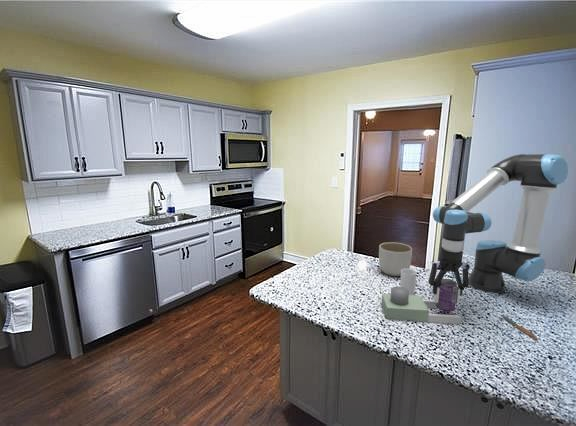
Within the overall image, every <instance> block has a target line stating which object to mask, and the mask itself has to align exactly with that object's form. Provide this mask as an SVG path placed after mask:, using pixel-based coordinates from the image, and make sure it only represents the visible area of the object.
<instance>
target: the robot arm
mask: <svg viewBox="0 0 576 426" xmlns="http://www.w3.org/2000/svg"><path fill="white" fill-rule="evenodd" d="M568 175H569V165H568V162H567V160H566V158H565V157H563V156H562V155H558V154H549V153H548V154H545V153H544V154H541V153H539V154H529V153H528V154H526V153H525V154H523V153H522V154H520V153H519V154H515V155H511V156H509V157H507V158H505V159H502V160H500V161H499V162H497V163H496V164H494V165H493V166H491V167H490V168H489V169H488V170H487V172H486V173H485V175H484V176H483V177H481V178H480V179H479V180H478V181H477V180H476V182H475V183H474V184H473V185H471V186H469V187H468V188H467V189H466V190H465V191H464V192H463V193H461V194H459V196H458V197H456V198H454V200H453V201H451V202H450V203H449V204H447V205H446V206H444V205H438V206H436V207H435V208H434V210H433V212H432V218H433V221H435V222H437V223H439V224H442V225H443V229H442V240H441V250H440V258H439V260H438V261H433V260H432V261H431V270H430V274H429V278H428V284H429V285H430V286H431V287H432V291H431V292H432V294H433V300H435V302H436V303H438V300H439V291H440V288H439V287H438V286H439V284H440V282H441V280H442V279H444V277H445V275H446V274H447V273H449V272H452V273H453V274H454V278H455V282H456V283H457V287H458V291H457V298H456V305H459V304H460V297H462V296H463V291H464V290H465V288H466V289H468V288H469V287H472V288H474V289H477V290H480V291H483V292H487V293H494V294H495V293H502V292H504V291H505V288H506V287H505V286H506V284H505V280H504V276H503V273H504V274H505V275H509V276H511V277H513V278H515V279H517V280H522V281H525V282H531V281H532V282H533V281H534V280H536V279H537V278H539V277H540V276H541V275H542V273H543V272H544V270H545V268H546V260H545V259H544V258H543V257H541V254H542V253H541V250H540V249H539V248H538V246H539V245H538V244H539V241H540V237H541V233H542V228H543V224H544V220H545V217H546V211H547V207H548V203H549V199H550V196H551V192H553V191H554V190H556V189H557V186H558V185H561V184H563V183H564V182H565V180H566V179H567V178H568ZM513 181H514V182H516V181H517V182H520V187H521V188H522V189H523V191H522V197H521V201H520V205H519V209H518V215H517V220H516V225H515V229H514V233H513V238H512V242H511V243H509V244H507V242H505V241H501V240H493V239H492V240H491V239H489V240H487V239H486V240H480V241H478V242H477V244H476V248H475V255H474V265H473V269H472V271H471V273H470V274H469V270H470V267H471V265H470V264H469V263H468V262H463V255H464V247H465V239H466V234H467V235H468V234H474V233H482V232H486V231H488V230H489V229H491V226H492V219H491V217H490V215H488V214H487V213H485V212H469V211H471V210H472V209H474V207H476V206H477V205H478V204H480V203H481V202H482V201H483V200H485V199H486V198H487V197H488V196H490V195H491V194H492V193H494V192H495V191H496V190H497V189H498V188H499V187H501V186H505V185H507V184H509V183H510V182H513ZM439 266H440V268H439ZM438 268H439V272H438V273H437V271H438ZM460 268H462V278H461V275H460V271H459V269H460Z"/></svg>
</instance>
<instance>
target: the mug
mask: <svg viewBox="0 0 576 426" xmlns="http://www.w3.org/2000/svg"><path fill="white" fill-rule="evenodd" d="M417 273H418V272H417V271H416V270H414V269H412V268H410V269H402V270H401V276H400V286H399V287H404V288H406V289H408V290H409V295H415V291H416V283H417Z"/></svg>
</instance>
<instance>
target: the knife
mask: <svg viewBox="0 0 576 426" xmlns="http://www.w3.org/2000/svg"><path fill="white" fill-rule="evenodd" d="M501 315H502V316H501V317H502V318H503V319H504V320H505V321H507V322H508V323H510V324H511V325H512V327H513V328H515V329H517V330H518V331H520V332H521V333H523V334H525V335H526V336H528V337H529V338H531V339H533V341H534V342H537V341H538V337H537V336H536V335H535V334H534V333H532V332H531V331H530V330H528V329H527V328H525V327H523V326H522V325H518V324H517V323H516V322H514V321H513V320H511V319H510V318H508V317H507V316H505V315H504V314H501Z"/></svg>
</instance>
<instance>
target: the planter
mask: <svg viewBox="0 0 576 426" xmlns="http://www.w3.org/2000/svg"><path fill="white" fill-rule="evenodd" d="M412 254H413V248H412V246H410V245H409V244H405V243H402V242H395V241H393V242H392V241H390V242H383V243H380V244H379V246H378V264H379V265H378V266H379V268H380V270H381V272H383V273H384V274H386V275H388V276H392V277H401V270H402V269H411V263H412V257H413V256H412Z"/></svg>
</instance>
